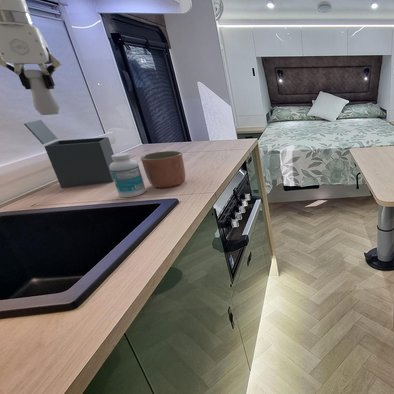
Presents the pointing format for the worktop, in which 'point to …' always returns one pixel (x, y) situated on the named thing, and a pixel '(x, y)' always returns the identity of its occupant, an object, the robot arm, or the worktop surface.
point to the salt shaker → (41, 94)
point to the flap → (41, 131)
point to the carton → (81, 161)
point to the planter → (164, 168)
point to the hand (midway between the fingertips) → (40, 88)
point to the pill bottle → (126, 175)
